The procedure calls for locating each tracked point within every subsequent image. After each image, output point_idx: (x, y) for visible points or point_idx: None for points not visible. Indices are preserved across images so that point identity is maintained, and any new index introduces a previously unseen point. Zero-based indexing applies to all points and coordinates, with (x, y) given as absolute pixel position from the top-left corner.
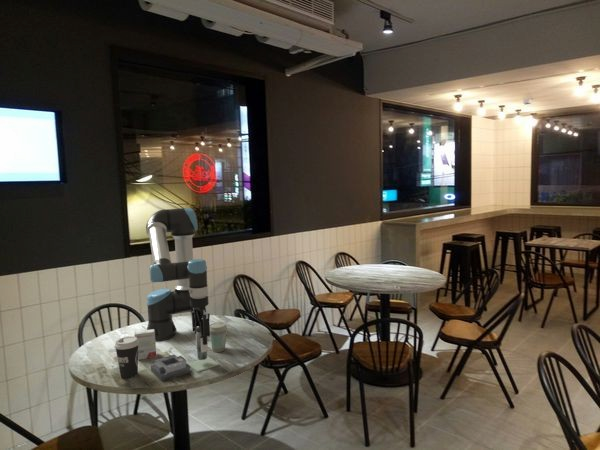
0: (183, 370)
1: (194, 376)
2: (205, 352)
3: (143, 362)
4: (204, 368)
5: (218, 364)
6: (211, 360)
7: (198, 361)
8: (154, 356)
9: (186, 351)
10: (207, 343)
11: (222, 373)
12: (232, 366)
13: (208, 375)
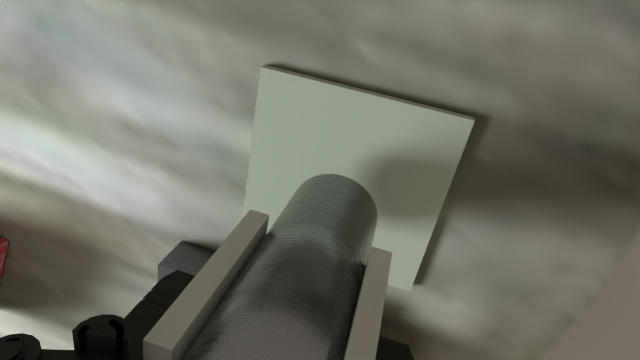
0: None
1: (441, 329)
2: (368, 253)
3: (43, 314)
4: (425, 242)
5: (472, 124)
6: (353, 106)
7: (279, 179)
8: (4, 252)
9: (29, 78)
10: (381, 316)
11: (627, 216)
12: (632, 61)
13: (529, 285)
